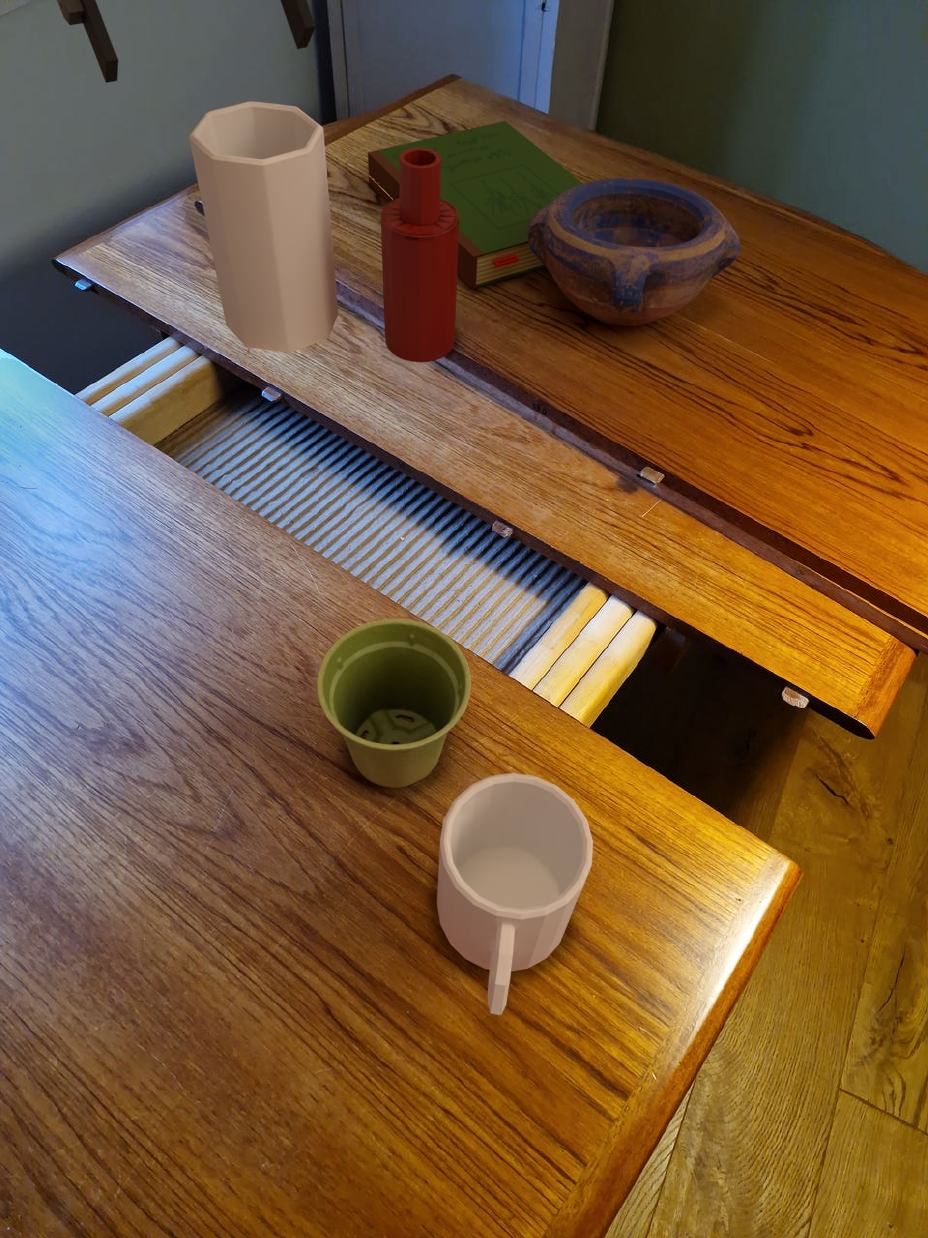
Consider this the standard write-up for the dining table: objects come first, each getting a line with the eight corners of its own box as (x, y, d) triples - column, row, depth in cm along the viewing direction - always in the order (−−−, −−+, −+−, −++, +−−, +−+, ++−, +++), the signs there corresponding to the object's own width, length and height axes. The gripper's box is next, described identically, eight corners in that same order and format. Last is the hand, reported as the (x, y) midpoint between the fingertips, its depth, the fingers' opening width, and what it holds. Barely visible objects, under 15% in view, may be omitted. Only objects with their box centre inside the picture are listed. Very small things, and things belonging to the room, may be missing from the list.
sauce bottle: (378, 356, 87) (370, 171, 73) (394, 316, 91) (389, 133, 77) (446, 366, 86) (452, 182, 72) (459, 325, 91) (467, 143, 76)
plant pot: (478, 706, 64) (485, 635, 57) (447, 827, 58) (451, 764, 51) (352, 678, 65) (344, 605, 58) (309, 794, 59) (295, 728, 52)
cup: (292, 369, 85) (265, 176, 70) (202, 328, 88) (159, 135, 74) (360, 312, 91) (349, 123, 76) (274, 276, 94) (247, 88, 80)
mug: (416, 1032, 50) (416, 985, 43) (447, 834, 58) (452, 762, 50) (558, 1055, 50) (584, 1011, 42) (572, 852, 57) (596, 783, 49)
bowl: (630, 236, 102) (648, 146, 94) (740, 317, 93) (770, 226, 85) (501, 280, 96) (509, 188, 88) (606, 372, 87) (625, 279, 79)
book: (369, 184, 107) (367, 152, 104) (502, 151, 113) (505, 120, 110) (475, 292, 94) (477, 260, 91) (619, 249, 100) (625, 217, 97)
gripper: (261, -264, 63) (364, 52, 68) (-120, -245, 55) (25, 114, 59) (281, -364, 56) (395, -5, 61) (-151, -359, 48) (17, 56, 52)
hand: (213, 54), depth 60 cm, fingers open, 13 cm apart
